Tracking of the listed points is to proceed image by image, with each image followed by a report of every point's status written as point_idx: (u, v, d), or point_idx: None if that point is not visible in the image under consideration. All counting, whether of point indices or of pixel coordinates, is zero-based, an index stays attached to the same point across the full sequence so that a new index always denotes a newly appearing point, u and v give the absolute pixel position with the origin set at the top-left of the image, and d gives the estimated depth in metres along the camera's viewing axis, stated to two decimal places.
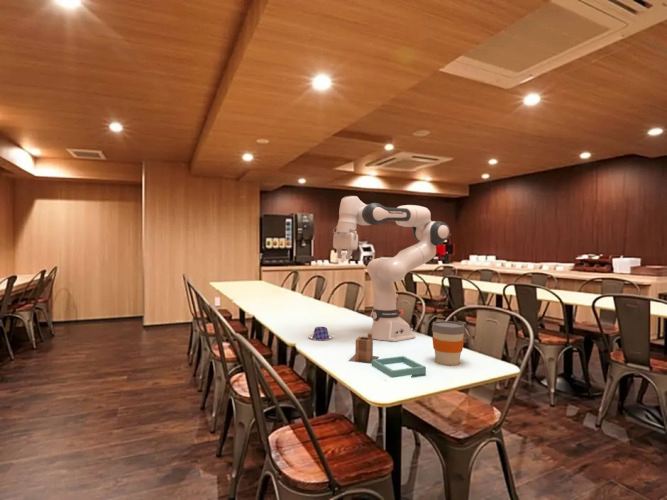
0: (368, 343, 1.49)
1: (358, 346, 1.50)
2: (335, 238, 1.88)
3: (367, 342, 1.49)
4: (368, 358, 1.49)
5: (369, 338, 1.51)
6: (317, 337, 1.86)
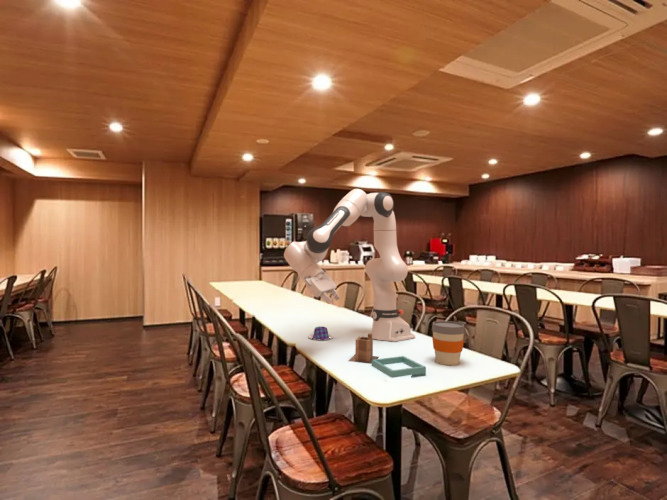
0: (368, 343, 1.49)
1: (358, 346, 1.50)
2: None
3: (367, 342, 1.49)
4: (368, 358, 1.49)
5: (369, 338, 1.51)
6: (317, 337, 1.86)
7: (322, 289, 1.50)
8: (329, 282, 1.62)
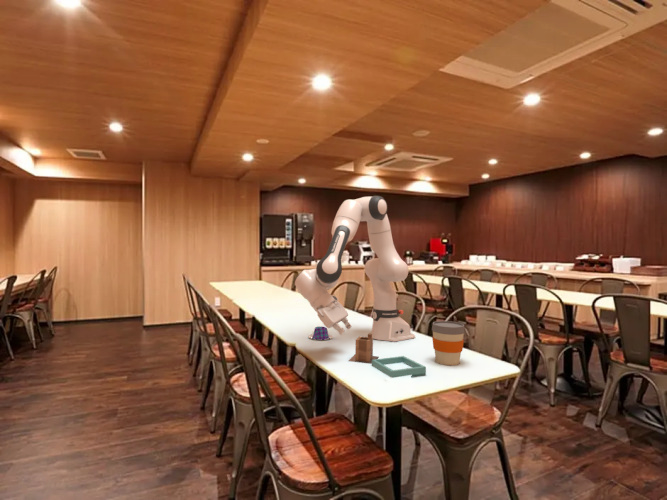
0: (368, 343, 1.49)
1: (358, 346, 1.50)
2: None
3: (367, 342, 1.49)
4: (368, 358, 1.49)
5: (369, 338, 1.51)
6: (316, 337, 1.86)
7: (334, 320, 1.48)
8: (341, 310, 1.61)
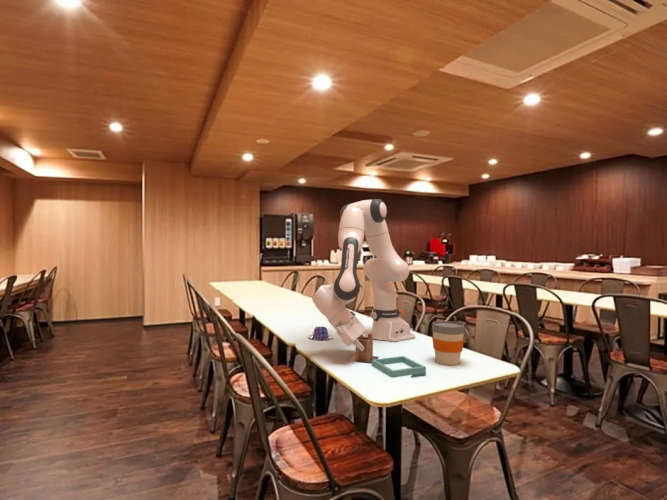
0: (368, 343, 1.49)
1: None
2: None
3: (367, 342, 1.49)
4: (368, 358, 1.49)
5: (369, 338, 1.51)
6: (316, 337, 1.86)
7: (354, 337, 1.46)
8: (359, 326, 1.58)
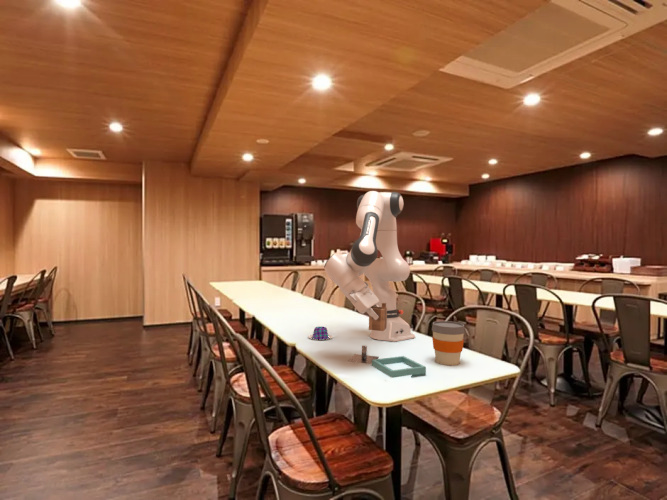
0: (382, 312, 1.44)
1: None
2: None
3: (381, 311, 1.44)
4: (382, 327, 1.44)
5: (383, 307, 1.45)
6: (315, 337, 1.86)
7: (368, 305, 1.41)
8: (372, 296, 1.53)
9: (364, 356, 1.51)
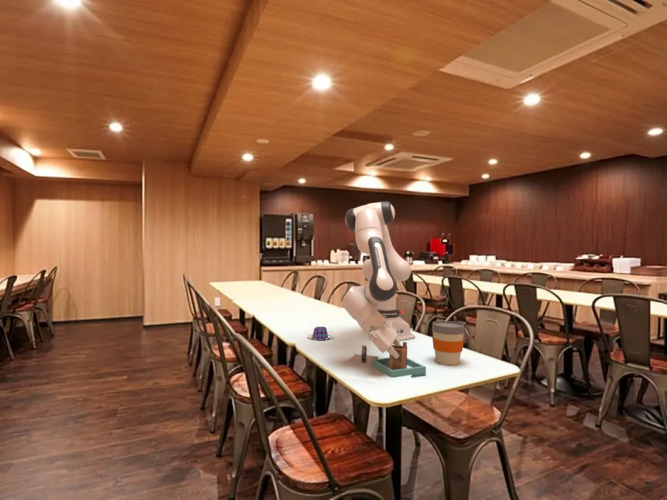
0: (403, 352, 1.38)
1: (392, 356, 1.39)
2: None
3: (402, 351, 1.38)
4: None
5: (404, 347, 1.39)
6: (314, 337, 1.86)
7: (389, 343, 1.34)
8: (391, 331, 1.47)
9: (364, 356, 1.51)
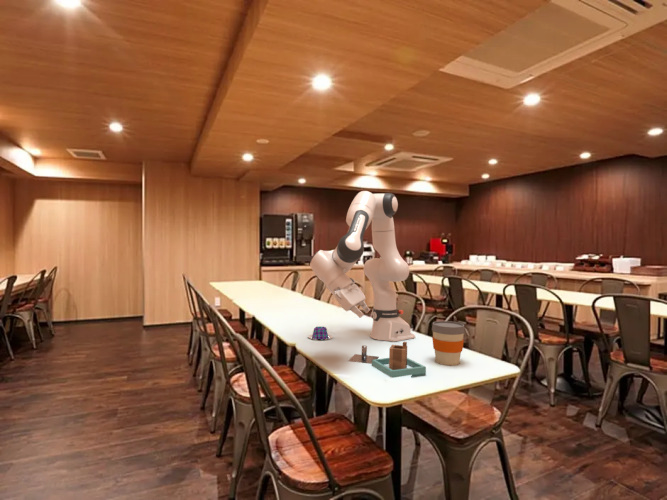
0: (403, 352, 1.38)
1: (392, 356, 1.39)
2: None
3: (402, 351, 1.38)
4: None
5: (404, 347, 1.39)
6: (314, 336, 1.87)
7: (353, 302, 1.39)
8: (358, 293, 1.51)
9: (364, 356, 1.51)
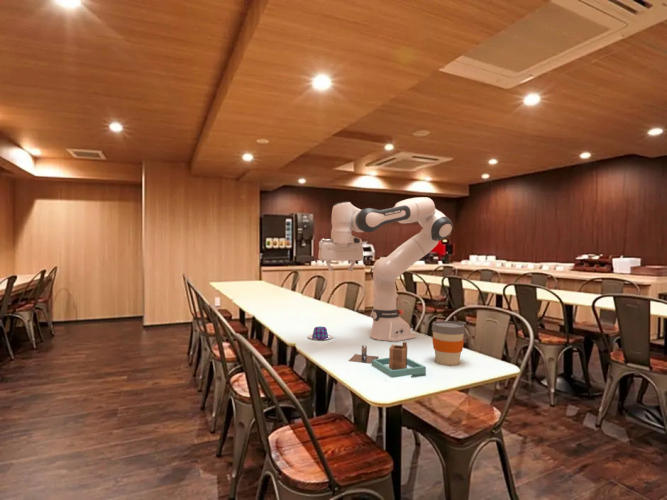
0: (403, 352, 1.38)
1: (392, 356, 1.39)
2: None
3: (402, 351, 1.38)
4: None
5: (404, 347, 1.39)
6: (314, 336, 1.87)
7: (326, 258, 1.64)
8: (353, 253, 1.69)
9: (364, 356, 1.51)
